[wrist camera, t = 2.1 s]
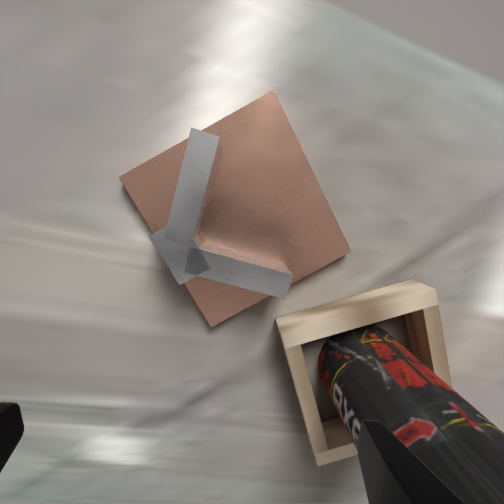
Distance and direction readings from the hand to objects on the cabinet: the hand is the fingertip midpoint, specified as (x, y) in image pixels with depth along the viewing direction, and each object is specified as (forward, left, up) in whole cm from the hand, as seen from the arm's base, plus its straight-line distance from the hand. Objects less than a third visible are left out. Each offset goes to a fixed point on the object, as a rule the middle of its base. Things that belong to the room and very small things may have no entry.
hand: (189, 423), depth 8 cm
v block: (+1, +5, -13) cm, 14 cm away
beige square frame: (+11, -4, -13) cm, 17 cm away
